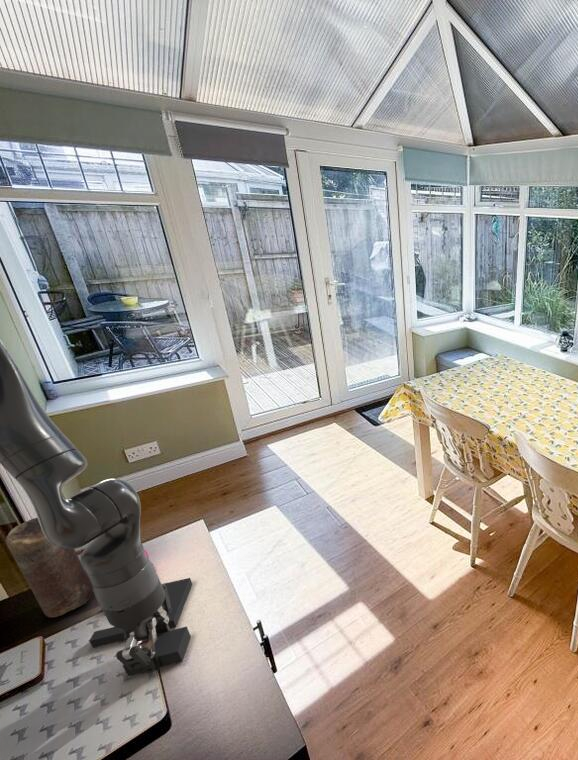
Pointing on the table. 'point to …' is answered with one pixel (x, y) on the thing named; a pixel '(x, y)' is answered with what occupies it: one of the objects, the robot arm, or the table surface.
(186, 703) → the table surface
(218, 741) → the table surface
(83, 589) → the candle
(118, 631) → the black u-shaped piece
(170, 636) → the black block
